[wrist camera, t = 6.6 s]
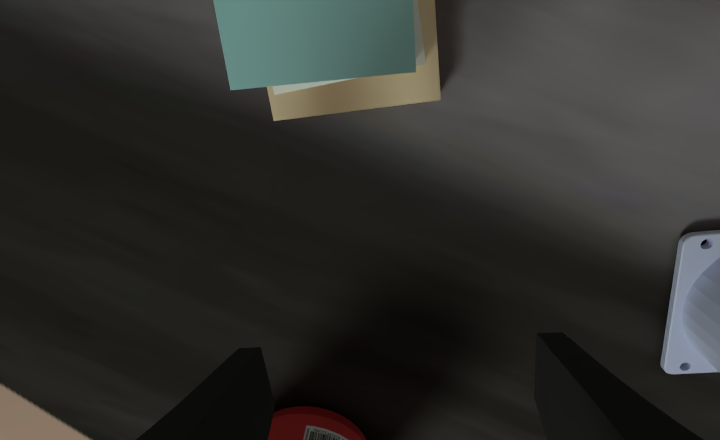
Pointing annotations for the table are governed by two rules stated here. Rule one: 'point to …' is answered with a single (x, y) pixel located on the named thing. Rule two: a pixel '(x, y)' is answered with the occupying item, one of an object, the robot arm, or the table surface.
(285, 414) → the canned food
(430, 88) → the oak slab
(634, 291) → the table surface
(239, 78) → the teal block
